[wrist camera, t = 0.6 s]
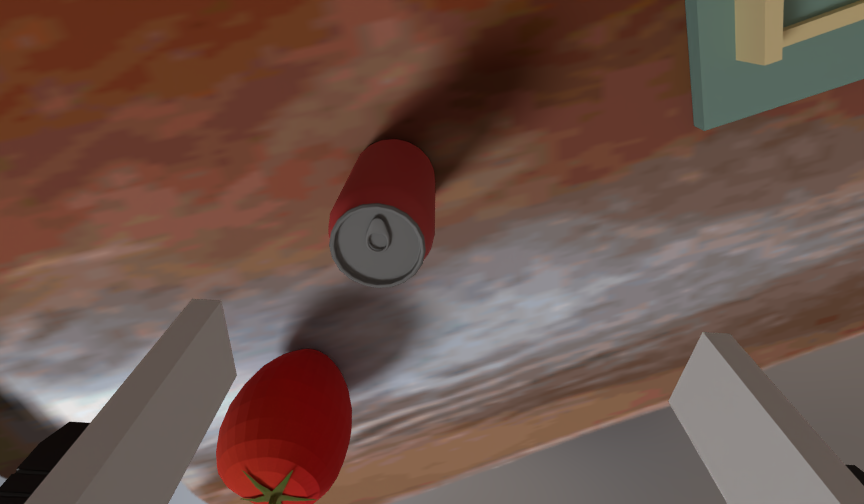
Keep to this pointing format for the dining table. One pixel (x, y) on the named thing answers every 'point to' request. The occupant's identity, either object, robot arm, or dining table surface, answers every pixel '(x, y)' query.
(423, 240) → the beer can
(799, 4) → the board
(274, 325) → the dining table surface
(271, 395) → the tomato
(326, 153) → the dining table surface
